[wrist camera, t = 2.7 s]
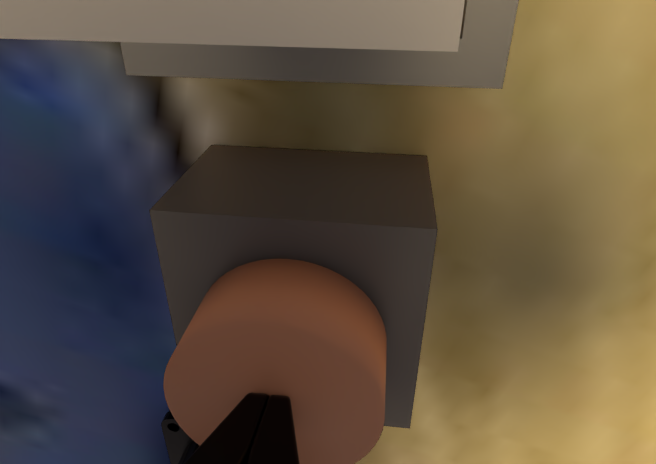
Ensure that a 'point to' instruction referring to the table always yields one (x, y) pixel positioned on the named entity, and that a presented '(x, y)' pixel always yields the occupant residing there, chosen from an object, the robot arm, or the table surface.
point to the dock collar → (346, 58)
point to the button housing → (308, 235)
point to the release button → (285, 357)
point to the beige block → (242, 22)
